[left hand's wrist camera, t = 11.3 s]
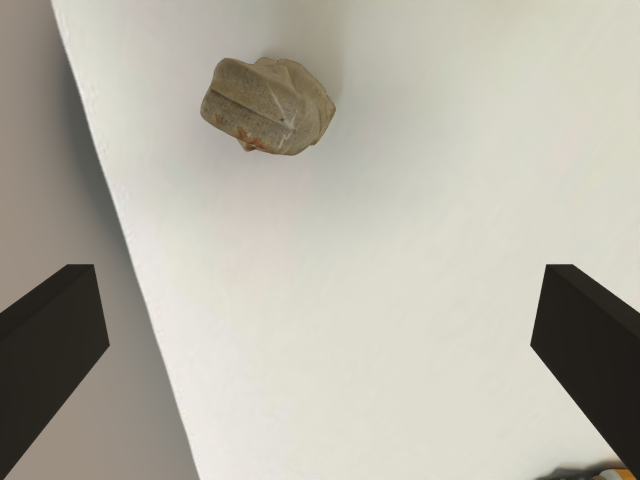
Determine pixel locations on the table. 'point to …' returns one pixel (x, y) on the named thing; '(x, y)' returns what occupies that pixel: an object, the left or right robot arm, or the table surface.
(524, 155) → the table surface
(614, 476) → the spray gun
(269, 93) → the sculpture
